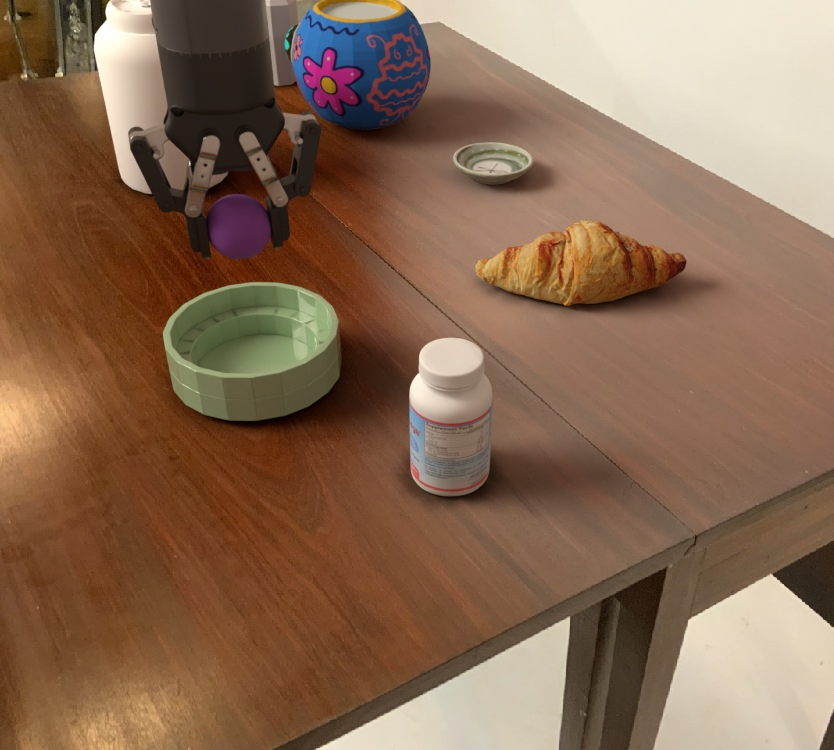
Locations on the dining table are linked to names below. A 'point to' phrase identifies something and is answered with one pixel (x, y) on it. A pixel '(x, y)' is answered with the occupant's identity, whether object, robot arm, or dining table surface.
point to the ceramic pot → (360, 61)
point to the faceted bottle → (281, 38)
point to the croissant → (581, 266)
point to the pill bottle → (450, 418)
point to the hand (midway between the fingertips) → (241, 247)
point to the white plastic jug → (135, 89)
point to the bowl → (253, 350)
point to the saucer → (492, 162)
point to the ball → (238, 226)
